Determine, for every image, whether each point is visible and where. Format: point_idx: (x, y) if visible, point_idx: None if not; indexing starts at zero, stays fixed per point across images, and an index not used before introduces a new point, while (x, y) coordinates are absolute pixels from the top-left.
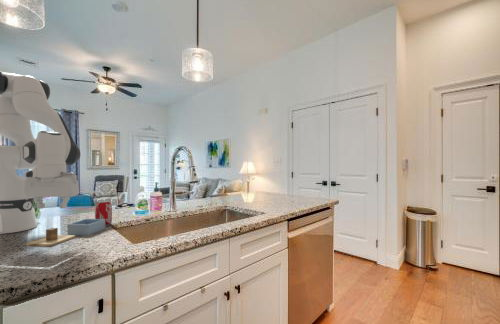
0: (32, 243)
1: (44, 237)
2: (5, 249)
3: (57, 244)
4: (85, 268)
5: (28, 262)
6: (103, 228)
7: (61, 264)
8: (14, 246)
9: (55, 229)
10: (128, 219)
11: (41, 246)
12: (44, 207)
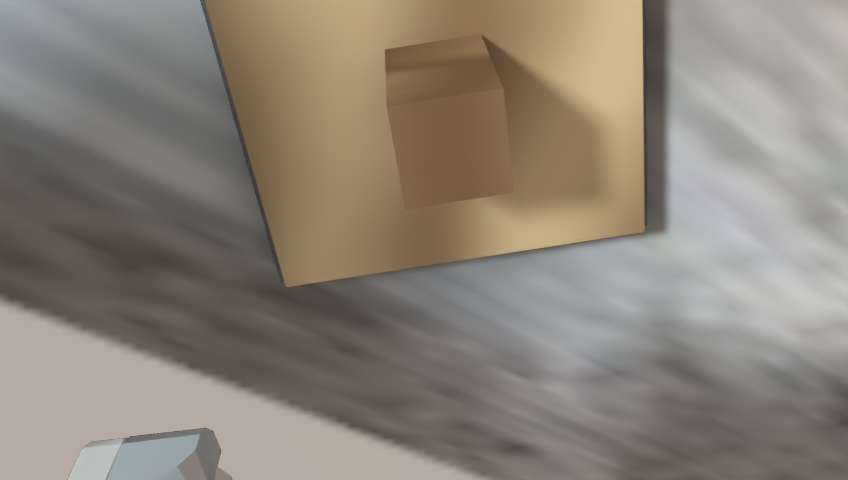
0: (375, 269)
1: (240, 63)
2: (157, 352)
3: (645, 150)
4: None
5: (752, 462)
6: None
7: None
8: (124, 276)
9: (505, 122)
10: None
11: None
12: (207, 435)
